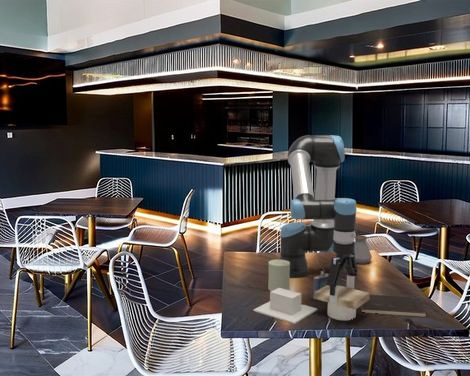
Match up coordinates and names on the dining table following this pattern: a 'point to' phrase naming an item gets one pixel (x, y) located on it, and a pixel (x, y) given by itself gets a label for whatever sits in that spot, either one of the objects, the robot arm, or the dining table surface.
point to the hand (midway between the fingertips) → (341, 297)
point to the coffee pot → (361, 250)
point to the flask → (319, 282)
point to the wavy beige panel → (344, 296)
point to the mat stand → (285, 306)
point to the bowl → (340, 312)
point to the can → (279, 274)
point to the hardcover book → (394, 305)
